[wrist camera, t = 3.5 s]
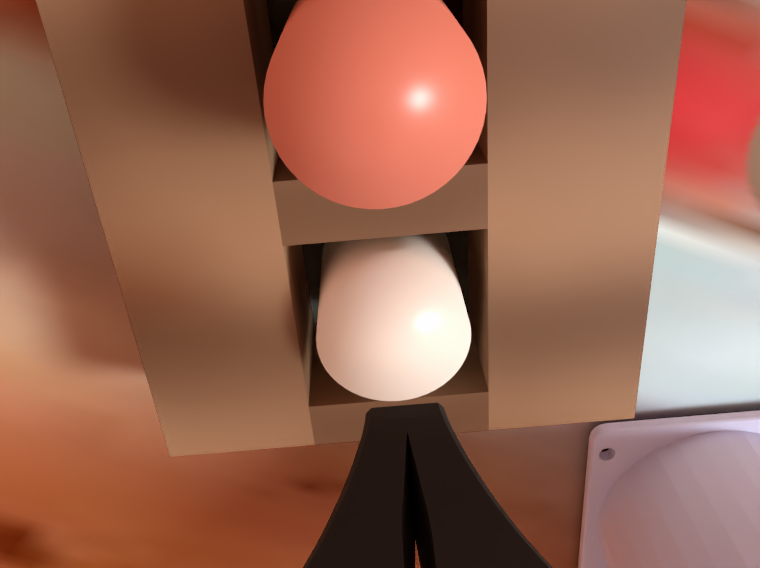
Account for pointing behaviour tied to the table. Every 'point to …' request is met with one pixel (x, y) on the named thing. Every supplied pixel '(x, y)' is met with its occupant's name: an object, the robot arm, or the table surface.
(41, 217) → the table surface
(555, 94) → the light brown rack
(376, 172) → the salmon pink egg
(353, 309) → the cream plug
